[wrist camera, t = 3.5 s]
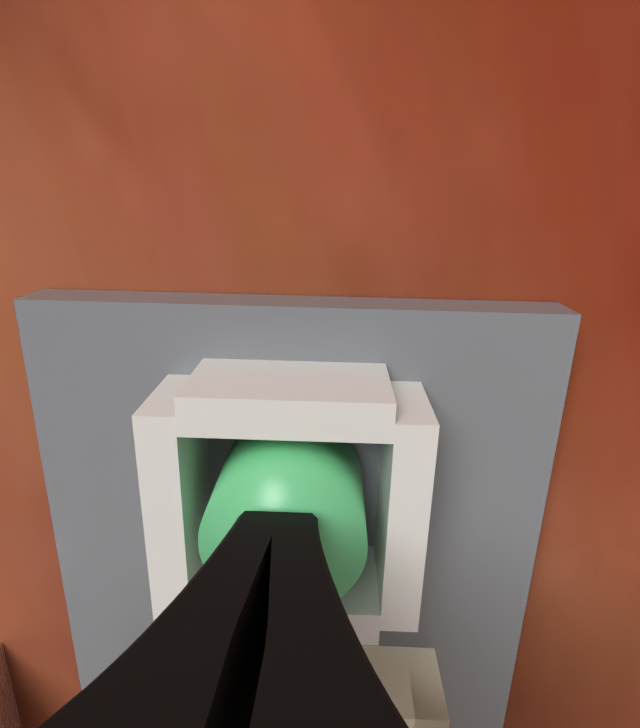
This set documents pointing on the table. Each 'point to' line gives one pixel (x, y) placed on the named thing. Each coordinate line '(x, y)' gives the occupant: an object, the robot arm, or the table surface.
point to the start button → (294, 497)
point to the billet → (7, 696)
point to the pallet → (316, 424)
